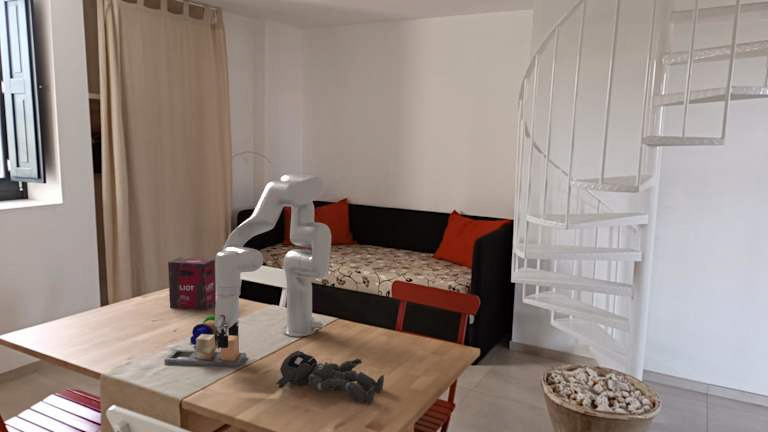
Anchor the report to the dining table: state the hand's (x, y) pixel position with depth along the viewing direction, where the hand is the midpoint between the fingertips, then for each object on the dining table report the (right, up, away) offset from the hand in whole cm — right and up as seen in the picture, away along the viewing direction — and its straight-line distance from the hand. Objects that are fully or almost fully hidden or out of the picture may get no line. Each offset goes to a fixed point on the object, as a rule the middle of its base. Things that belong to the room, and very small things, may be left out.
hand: (228, 342), depth 177 cm
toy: (-13, -5, +20) cm, 24 cm away
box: (-33, +1, +61) cm, 69 cm away
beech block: (-8, -6, +2) cm, 10 cm away
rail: (-8, -8, +2) cm, 11 cm away
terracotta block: (0, -7, +2) cm, 7 cm away
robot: (+34, -11, -13) cm, 38 cm away
